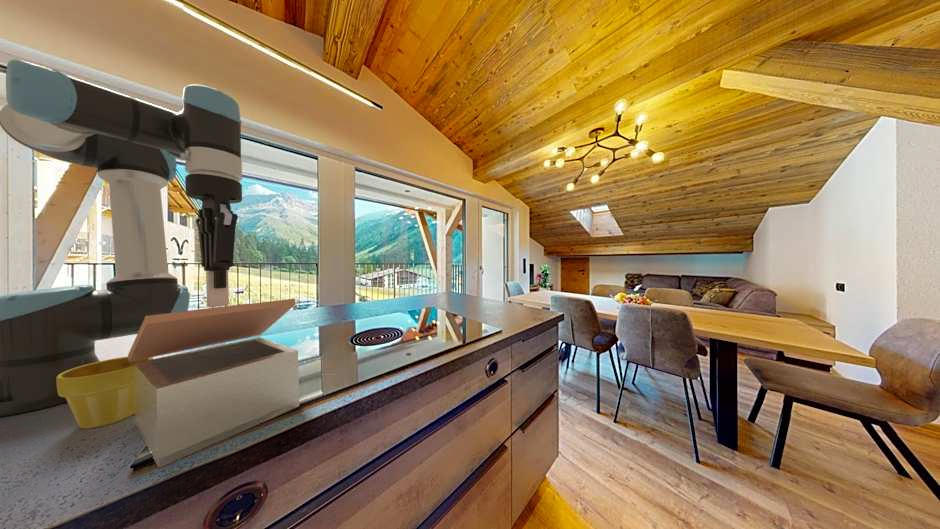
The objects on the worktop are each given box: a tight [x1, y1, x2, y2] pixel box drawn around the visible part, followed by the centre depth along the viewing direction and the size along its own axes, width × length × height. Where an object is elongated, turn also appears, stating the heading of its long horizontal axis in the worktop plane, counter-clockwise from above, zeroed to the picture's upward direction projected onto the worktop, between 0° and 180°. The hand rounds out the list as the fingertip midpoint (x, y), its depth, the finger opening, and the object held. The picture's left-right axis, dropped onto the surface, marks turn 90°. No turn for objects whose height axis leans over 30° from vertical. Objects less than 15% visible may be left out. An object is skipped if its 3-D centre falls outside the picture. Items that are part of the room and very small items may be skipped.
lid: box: [127, 298, 297, 362], centre depth 50 cm, size 19×19×4 cm
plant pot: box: [56, 356, 154, 430], centre depth 48 cm, size 10×10×10 cm
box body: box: [134, 336, 300, 469], centre depth 49 cm, size 18×18×11 cm
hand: (218, 305), depth 49 cm, fingers closed
